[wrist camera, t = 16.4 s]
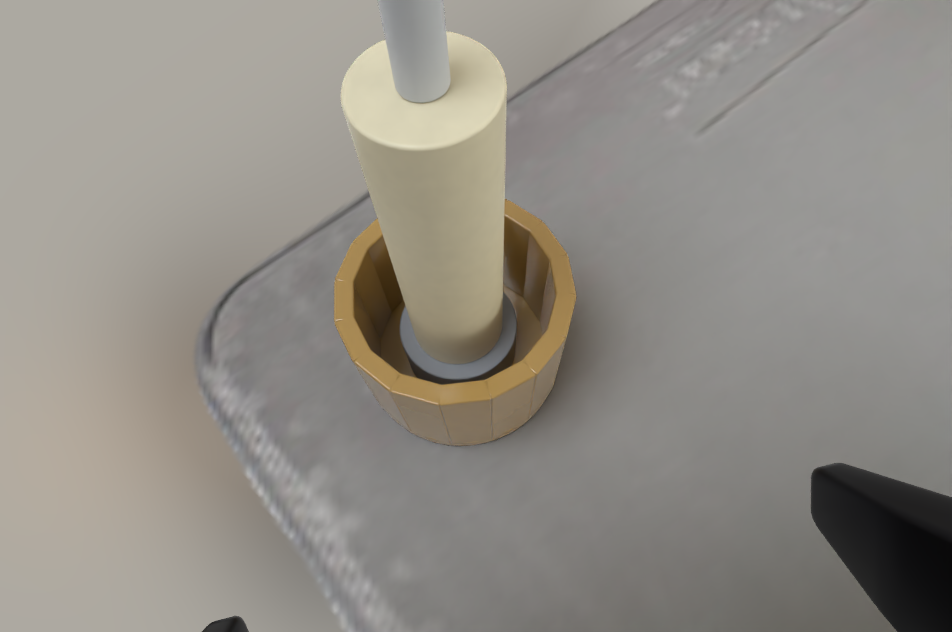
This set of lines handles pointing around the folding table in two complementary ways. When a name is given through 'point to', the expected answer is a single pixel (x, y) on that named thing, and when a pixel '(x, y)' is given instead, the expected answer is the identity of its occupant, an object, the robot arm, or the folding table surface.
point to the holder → (468, 403)
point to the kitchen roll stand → (437, 186)
